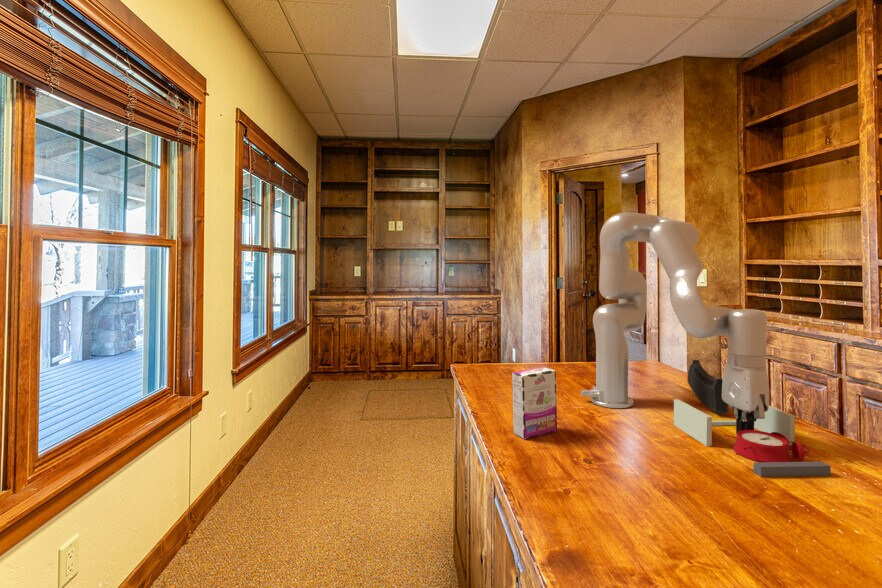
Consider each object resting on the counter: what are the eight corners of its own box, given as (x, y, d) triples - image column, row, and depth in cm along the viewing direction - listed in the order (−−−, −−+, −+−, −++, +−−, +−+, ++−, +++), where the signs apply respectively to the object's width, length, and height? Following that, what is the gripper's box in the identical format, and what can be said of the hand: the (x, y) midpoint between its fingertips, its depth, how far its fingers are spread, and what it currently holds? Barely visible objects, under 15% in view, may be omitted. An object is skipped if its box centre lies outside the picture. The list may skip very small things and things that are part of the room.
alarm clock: (718, 430, 99) (783, 416, 98) (724, 455, 100) (789, 442, 98) (747, 448, 89) (820, 434, 88) (753, 476, 89) (826, 462, 88)
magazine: (732, 389, 114) (701, 341, 141) (718, 388, 115) (690, 340, 142) (725, 440, 120) (696, 385, 147) (712, 439, 121) (686, 384, 148)
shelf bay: (706, 446, 99) (706, 417, 98) (673, 424, 113) (673, 399, 112) (794, 444, 98) (794, 415, 98) (750, 423, 112) (751, 398, 112)
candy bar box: (544, 425, 114) (544, 366, 113) (557, 431, 109) (557, 370, 108) (511, 433, 108) (511, 371, 108) (523, 440, 104) (523, 375, 103)
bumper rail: (760, 476, 84) (760, 467, 83) (753, 472, 86) (753, 462, 85) (830, 475, 84) (830, 466, 83) (821, 471, 86) (821, 461, 85)
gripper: (710, 355, 107) (709, 425, 108) (754, 368, 92) (752, 449, 93) (739, 354, 107) (738, 424, 108) (787, 367, 92) (786, 448, 93)
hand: (744, 435), depth 100 cm, fingers closed
